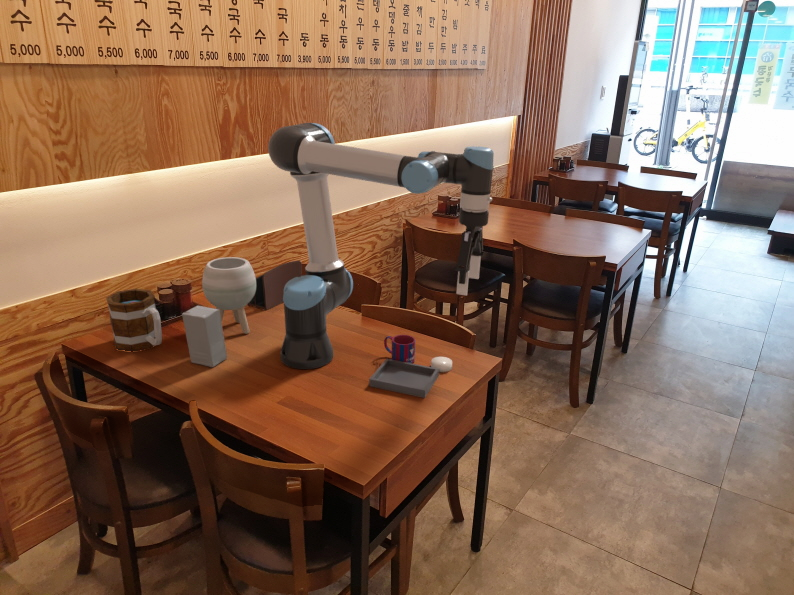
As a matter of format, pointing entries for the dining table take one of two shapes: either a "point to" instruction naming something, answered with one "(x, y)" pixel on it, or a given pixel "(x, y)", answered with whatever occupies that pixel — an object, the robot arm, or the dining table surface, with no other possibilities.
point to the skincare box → (204, 336)
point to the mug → (134, 320)
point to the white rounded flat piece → (442, 364)
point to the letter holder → (274, 285)
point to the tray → (404, 378)
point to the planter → (230, 286)
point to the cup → (402, 348)
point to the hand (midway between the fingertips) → (468, 286)
